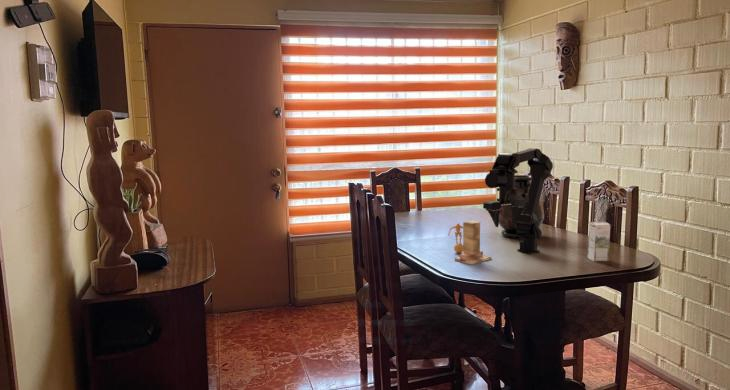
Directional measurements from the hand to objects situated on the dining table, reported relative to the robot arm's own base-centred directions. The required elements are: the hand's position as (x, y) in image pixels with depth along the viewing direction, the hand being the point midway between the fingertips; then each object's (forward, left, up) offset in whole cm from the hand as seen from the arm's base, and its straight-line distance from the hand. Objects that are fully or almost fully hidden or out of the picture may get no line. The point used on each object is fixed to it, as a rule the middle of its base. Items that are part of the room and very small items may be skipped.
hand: (506, 225), depth 209 cm
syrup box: (-28, +20, -13) cm, 37 cm away
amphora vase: (-35, -29, -13) cm, 47 cm away
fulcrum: (+12, -5, -13) cm, 18 cm away
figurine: (+9, -18, -13) cm, 24 cm away
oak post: (+13, -5, -10) cm, 17 cm away
